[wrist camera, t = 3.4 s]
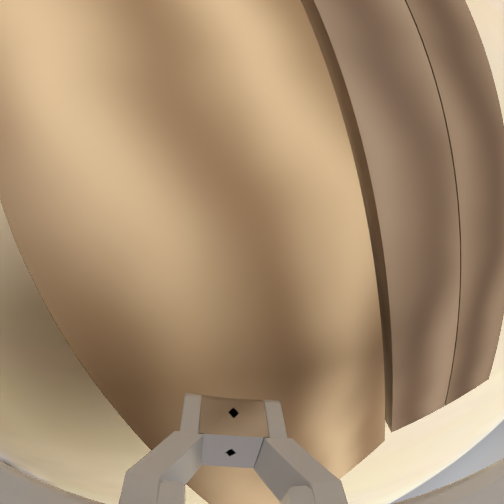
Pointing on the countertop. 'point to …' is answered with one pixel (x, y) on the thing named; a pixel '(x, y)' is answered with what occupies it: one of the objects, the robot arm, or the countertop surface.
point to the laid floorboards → (424, 187)
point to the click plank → (195, 216)
